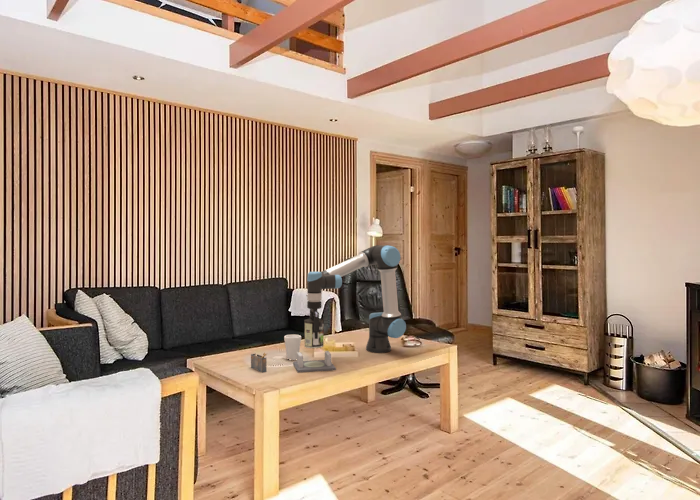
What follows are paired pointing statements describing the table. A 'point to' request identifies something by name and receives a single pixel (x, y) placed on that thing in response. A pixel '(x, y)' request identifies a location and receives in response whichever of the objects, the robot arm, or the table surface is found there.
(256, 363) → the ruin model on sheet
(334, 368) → the holder
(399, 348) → the table surface
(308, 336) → the coffee can
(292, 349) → the foam cup
